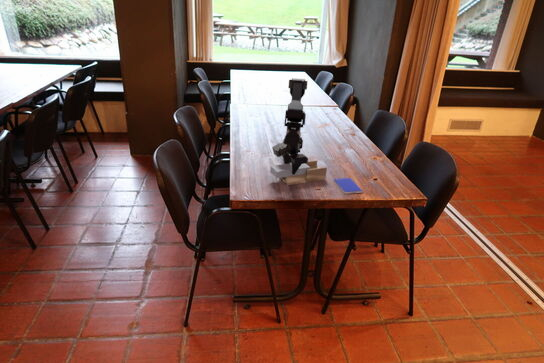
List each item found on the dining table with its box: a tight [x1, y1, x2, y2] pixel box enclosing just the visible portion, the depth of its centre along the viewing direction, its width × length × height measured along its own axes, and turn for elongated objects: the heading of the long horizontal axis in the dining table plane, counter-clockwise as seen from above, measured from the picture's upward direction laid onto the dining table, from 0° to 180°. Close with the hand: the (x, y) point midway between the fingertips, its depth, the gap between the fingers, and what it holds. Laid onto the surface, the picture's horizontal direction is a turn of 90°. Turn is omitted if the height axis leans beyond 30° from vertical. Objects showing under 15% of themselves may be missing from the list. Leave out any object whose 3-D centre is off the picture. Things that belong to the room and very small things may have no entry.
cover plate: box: [269, 162, 310, 179], centre depth 159 cm, size 6×16×3 cm, turn 115°
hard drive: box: [333, 177, 364, 195], centre depth 159 cm, size 2×8×12 cm
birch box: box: [280, 159, 328, 186], centre depth 163 cm, size 9×19×6 cm, turn 115°
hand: (289, 171), depth 160 cm, fingers closed on cover plate, 6 cm apart
